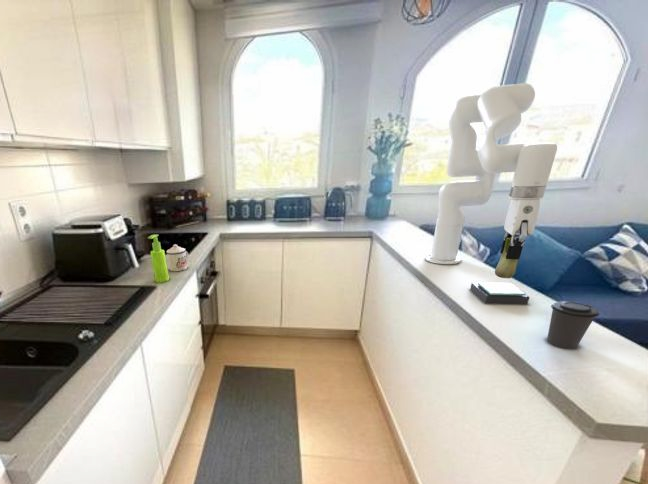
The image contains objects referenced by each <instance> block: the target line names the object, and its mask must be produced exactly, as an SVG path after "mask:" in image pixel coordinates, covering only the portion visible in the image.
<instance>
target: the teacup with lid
mask: <svg viewBox="0 0 648 484" xmlns="http://www.w3.org/2000/svg"><path fill="white" fill-rule="evenodd" d="M165 254H166V255H167V263H168V268H169V269H168V270H169V271H171V272H181V271H185V270H187V269H188V261H187V260H188V259H189V252H188V251H187V250H186V248H184V247H181V246H178V244H176V243H175V244H173V245H172V247H170V248H169V249H167V250H166V253H165Z"/></svg>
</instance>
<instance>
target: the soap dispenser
mask: <svg viewBox="0 0 648 484" xmlns="http://www.w3.org/2000/svg"><path fill="white" fill-rule="evenodd" d="M159 235H160V234H151V235H149V236H147V239H148V240H152V239H153V242H152V243H151V247H152V250H150V259H151V264H152V269H153V274H154V282H155V283H159V284H161V283H166V282H168V281H169V280H170V277H169V272H168V271H169V269H168V264H167V259H166V253H165V250H164V249H162V246H161V242H160V241H159V240H158V237H159Z"/></svg>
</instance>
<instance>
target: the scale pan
mask: <svg viewBox="0 0 648 484" xmlns="http://www.w3.org/2000/svg"><path fill="white" fill-rule="evenodd" d="M477 283H478V285H479V286H480V287H482V288H483V289H484V290H485V291H486V292H488V293H489V294H490V295H527V293H526V292H524V291H523V290H521V289H520V288H518V287H517V286H515V284H513V283H511V282H502V283H481V282H477Z"/></svg>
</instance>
